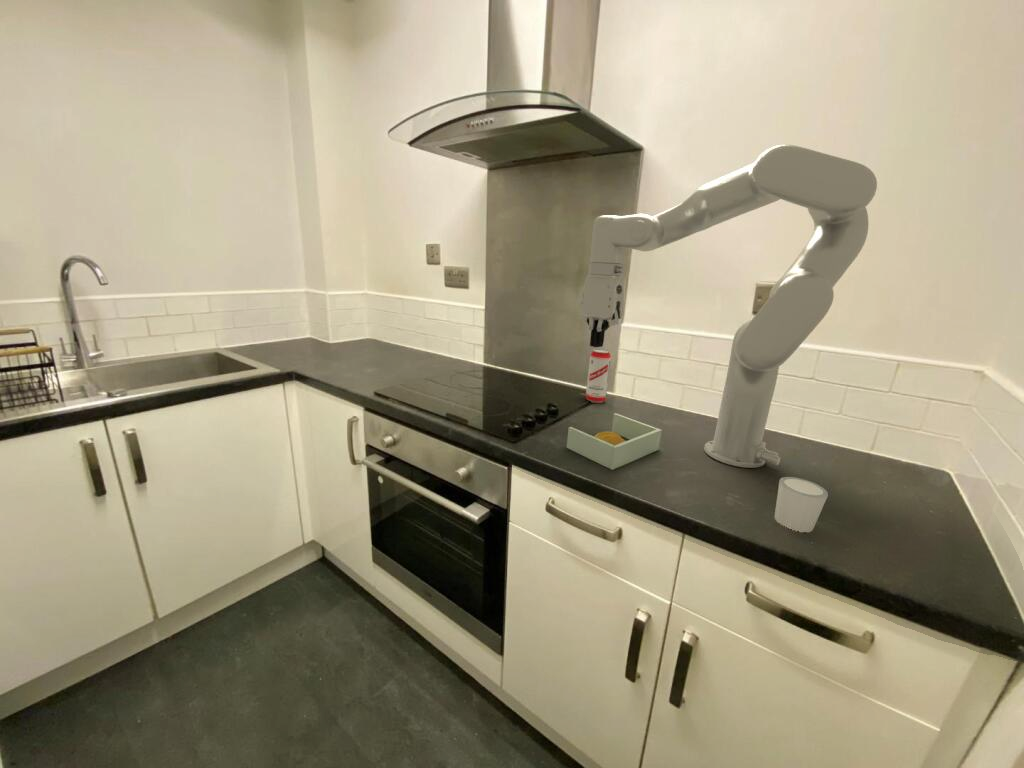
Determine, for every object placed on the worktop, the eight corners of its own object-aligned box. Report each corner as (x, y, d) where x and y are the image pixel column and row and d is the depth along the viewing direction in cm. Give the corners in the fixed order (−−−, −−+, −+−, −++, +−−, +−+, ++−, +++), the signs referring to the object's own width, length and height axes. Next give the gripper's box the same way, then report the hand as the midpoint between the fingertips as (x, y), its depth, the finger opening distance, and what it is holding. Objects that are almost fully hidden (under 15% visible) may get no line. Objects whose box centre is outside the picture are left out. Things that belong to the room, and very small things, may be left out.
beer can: (605, 404, 128) (612, 353, 123) (585, 402, 129) (590, 351, 124) (605, 398, 134) (611, 349, 129) (585, 396, 135) (591, 347, 130)
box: (658, 449, 98) (661, 429, 96) (612, 469, 87) (615, 447, 85) (613, 431, 107) (615, 413, 106) (566, 447, 96) (568, 427, 95)
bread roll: (617, 441, 102) (619, 426, 101) (633, 458, 93) (635, 442, 92) (585, 442, 100) (586, 426, 99) (598, 459, 92) (600, 442, 91)
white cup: (798, 511, 75) (808, 476, 73) (827, 535, 69) (839, 497, 67) (761, 510, 75) (770, 475, 73) (787, 534, 68) (797, 496, 66)
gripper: (640, 273, 97) (630, 350, 102) (590, 270, 108) (583, 340, 113) (621, 272, 92) (611, 353, 98) (570, 269, 103) (564, 342, 108)
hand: (596, 346), depth 105 cm, fingers closed
